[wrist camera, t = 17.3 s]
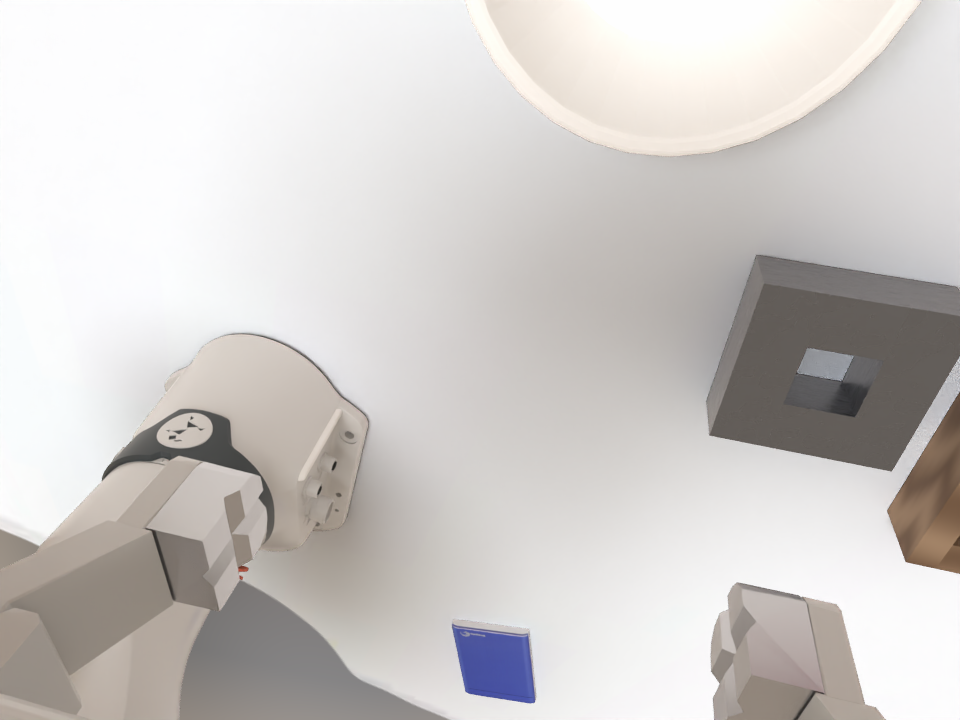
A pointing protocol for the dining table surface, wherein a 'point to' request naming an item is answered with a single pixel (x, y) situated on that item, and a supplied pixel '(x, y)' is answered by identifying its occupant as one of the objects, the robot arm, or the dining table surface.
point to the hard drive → (495, 660)
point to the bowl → (682, 64)
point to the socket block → (843, 329)
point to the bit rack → (932, 501)
